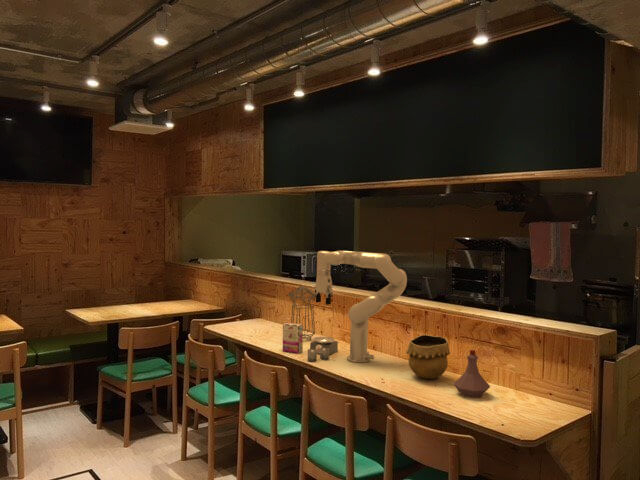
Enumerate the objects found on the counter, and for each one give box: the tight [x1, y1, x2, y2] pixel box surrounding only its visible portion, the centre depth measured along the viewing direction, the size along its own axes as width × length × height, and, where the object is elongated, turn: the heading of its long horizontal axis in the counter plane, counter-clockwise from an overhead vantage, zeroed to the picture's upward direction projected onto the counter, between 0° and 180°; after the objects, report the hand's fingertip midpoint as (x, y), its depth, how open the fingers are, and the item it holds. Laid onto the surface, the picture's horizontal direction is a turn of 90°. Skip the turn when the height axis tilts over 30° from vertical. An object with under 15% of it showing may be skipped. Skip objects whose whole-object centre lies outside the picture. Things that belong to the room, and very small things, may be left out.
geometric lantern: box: [287, 285, 316, 342], centre depth 338 cm, size 16×16×35 cm
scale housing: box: [309, 340, 339, 356], centre depth 309 cm, size 12×12×6 cm
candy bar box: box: [282, 322, 304, 355], centre depth 308 cm, size 11×5×16 cm, turn 62°
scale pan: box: [313, 336, 335, 343], centre depth 309 cm, size 12×12×1 cm
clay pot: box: [405, 334, 451, 380], centre depth 262 cm, size 21×21×20 cm
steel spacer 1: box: [307, 348, 318, 363], centre depth 290 cm, size 5×5×6 cm
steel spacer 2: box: [319, 347, 330, 361], centre depth 294 cm, size 5×5×6 cm
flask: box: [452, 349, 491, 399], centre depth 238 cm, size 16×16×20 cm
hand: (323, 303), depth 297 cm, fingers open, 9 cm apart
